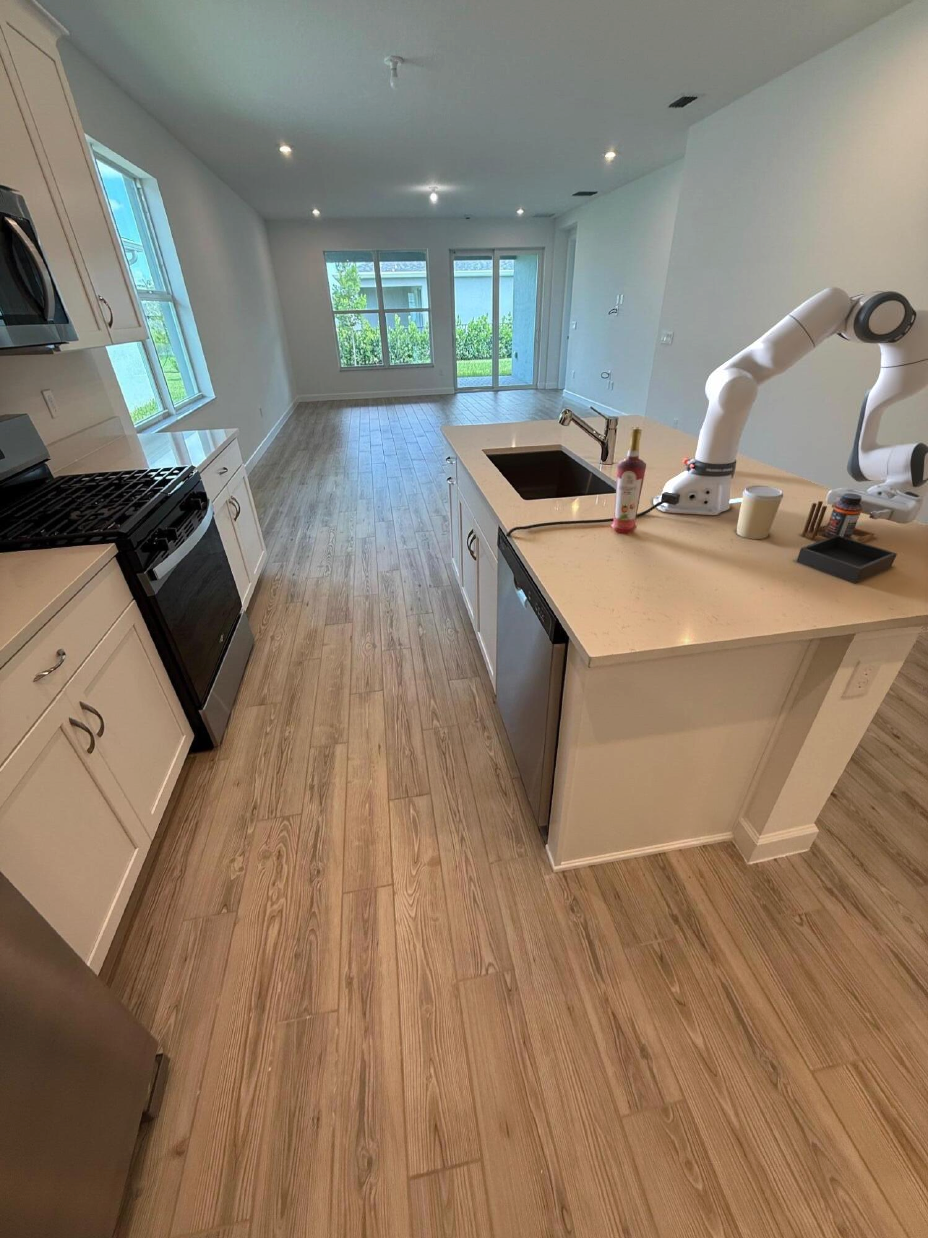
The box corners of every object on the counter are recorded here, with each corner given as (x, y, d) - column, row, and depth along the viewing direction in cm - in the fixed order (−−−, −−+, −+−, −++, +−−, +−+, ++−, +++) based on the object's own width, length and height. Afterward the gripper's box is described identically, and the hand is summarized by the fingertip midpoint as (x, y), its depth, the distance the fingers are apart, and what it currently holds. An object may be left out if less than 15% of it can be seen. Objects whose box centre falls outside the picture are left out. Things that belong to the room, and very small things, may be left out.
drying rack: (843, 549, 128) (857, 515, 123) (800, 535, 136) (811, 503, 131) (873, 538, 133) (887, 505, 128) (830, 525, 141) (841, 493, 136)
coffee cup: (768, 528, 141) (780, 486, 135) (773, 541, 134) (787, 497, 127) (731, 525, 144) (741, 484, 137) (734, 538, 136) (745, 495, 130)
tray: (855, 583, 113) (861, 569, 111) (796, 561, 123) (800, 548, 121) (891, 567, 119) (897, 553, 117) (831, 547, 129) (836, 534, 127)
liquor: (638, 527, 146) (653, 425, 131) (634, 536, 140) (649, 431, 125) (612, 524, 149) (624, 424, 134) (607, 533, 143) (619, 430, 128)
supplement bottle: (818, 533, 137) (832, 492, 131) (839, 531, 137) (854, 490, 131) (834, 542, 132) (849, 500, 126) (856, 540, 132) (872, 498, 126)
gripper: (847, 479, 144) (817, 488, 139) (931, 498, 128) (902, 509, 123) (839, 500, 147) (810, 510, 142) (920, 522, 132) (891, 534, 126)
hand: (853, 510), depth 132 cm, fingers open, 8 cm apart
